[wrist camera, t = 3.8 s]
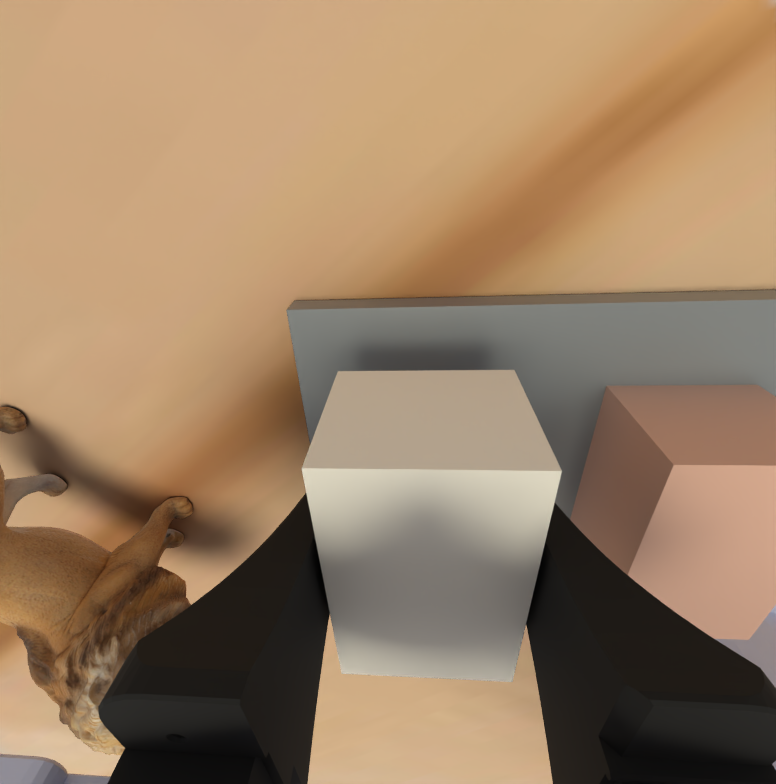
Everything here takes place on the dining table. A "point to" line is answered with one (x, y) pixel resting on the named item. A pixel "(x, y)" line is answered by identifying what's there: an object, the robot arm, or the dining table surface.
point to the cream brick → (430, 519)
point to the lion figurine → (82, 598)
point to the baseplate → (544, 349)
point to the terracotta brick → (688, 499)
